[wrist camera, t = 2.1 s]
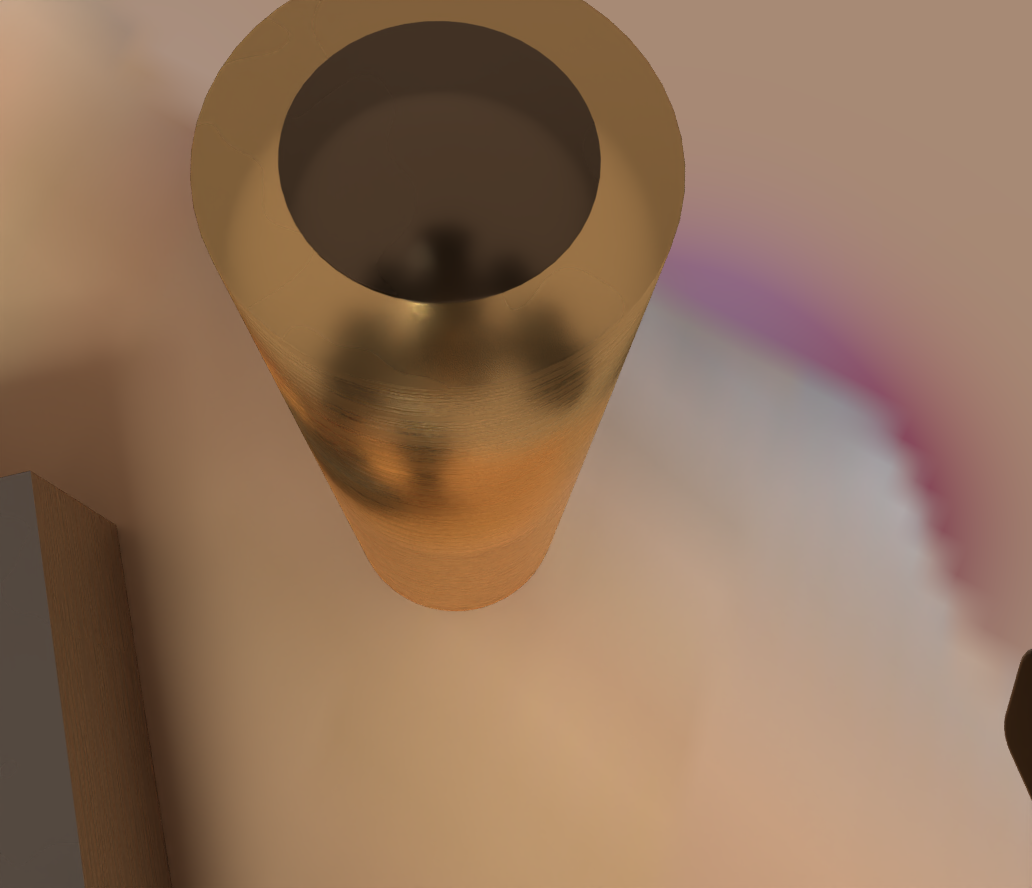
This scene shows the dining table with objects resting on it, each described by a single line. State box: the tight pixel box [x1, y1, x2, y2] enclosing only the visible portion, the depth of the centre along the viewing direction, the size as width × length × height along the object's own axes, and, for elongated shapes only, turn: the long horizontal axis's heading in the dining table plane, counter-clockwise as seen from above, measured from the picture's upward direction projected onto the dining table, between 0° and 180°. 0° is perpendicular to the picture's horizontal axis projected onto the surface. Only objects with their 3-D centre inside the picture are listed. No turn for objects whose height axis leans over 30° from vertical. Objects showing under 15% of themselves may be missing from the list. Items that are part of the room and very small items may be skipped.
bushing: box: [190, 0, 685, 611], centre depth 14 cm, size 4×4×12 cm
